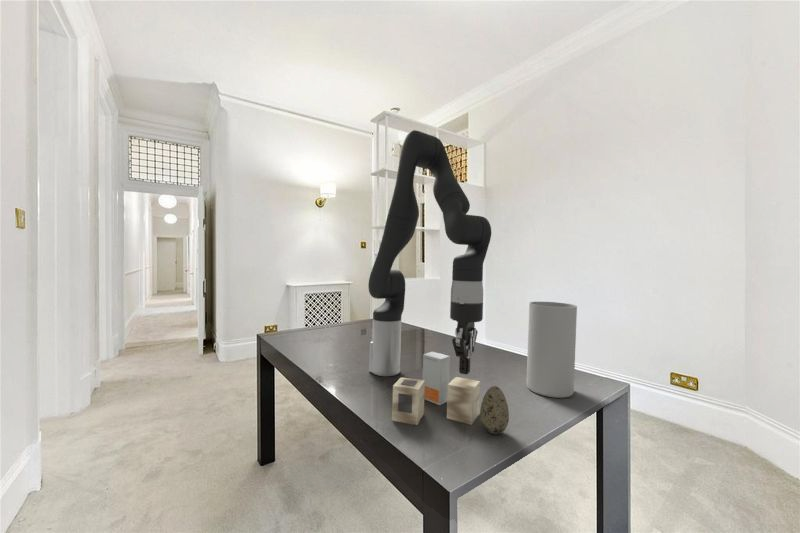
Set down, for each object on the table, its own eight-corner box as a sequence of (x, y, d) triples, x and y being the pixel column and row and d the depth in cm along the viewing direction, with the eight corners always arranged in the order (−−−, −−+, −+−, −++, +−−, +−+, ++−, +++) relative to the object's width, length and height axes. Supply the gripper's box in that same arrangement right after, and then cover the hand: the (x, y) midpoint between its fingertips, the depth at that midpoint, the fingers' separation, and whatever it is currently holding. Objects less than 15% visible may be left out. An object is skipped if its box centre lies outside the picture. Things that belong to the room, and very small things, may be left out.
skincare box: (421, 398, 88) (422, 353, 87) (431, 394, 91) (432, 350, 91) (439, 406, 84) (441, 359, 83) (449, 401, 87) (450, 355, 86)
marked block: (391, 420, 75) (392, 385, 75) (399, 409, 81) (400, 376, 81) (417, 425, 74) (418, 389, 73) (423, 413, 79) (424, 380, 79)
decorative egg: (503, 426, 74) (505, 381, 74) (511, 440, 68) (513, 392, 68) (476, 425, 74) (478, 380, 74) (482, 439, 68) (484, 391, 68)
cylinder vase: (584, 396, 92) (587, 307, 92) (546, 401, 89) (550, 307, 88) (551, 380, 104) (554, 301, 104) (517, 383, 101) (520, 301, 100)
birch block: (446, 418, 77) (447, 384, 77) (454, 408, 83) (455, 376, 82) (472, 425, 75) (473, 389, 74) (478, 414, 80) (479, 381, 80)
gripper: (459, 296, 86) (457, 363, 86) (441, 301, 74) (439, 378, 74) (489, 298, 82) (487, 368, 83) (475, 304, 70) (472, 385, 71)
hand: (464, 373), depth 78 cm, fingers closed
